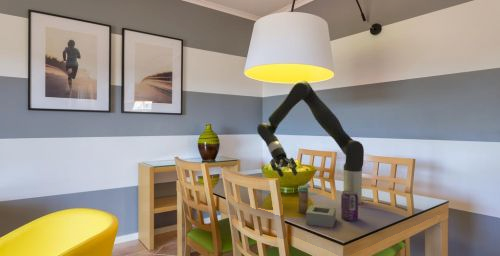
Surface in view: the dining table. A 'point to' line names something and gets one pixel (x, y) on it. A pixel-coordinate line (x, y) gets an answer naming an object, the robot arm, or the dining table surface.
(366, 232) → the dining table surface
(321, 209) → the socket block
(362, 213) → the dining table surface
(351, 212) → the beverage can
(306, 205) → the green capped wooden peg
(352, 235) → the dining table surface
